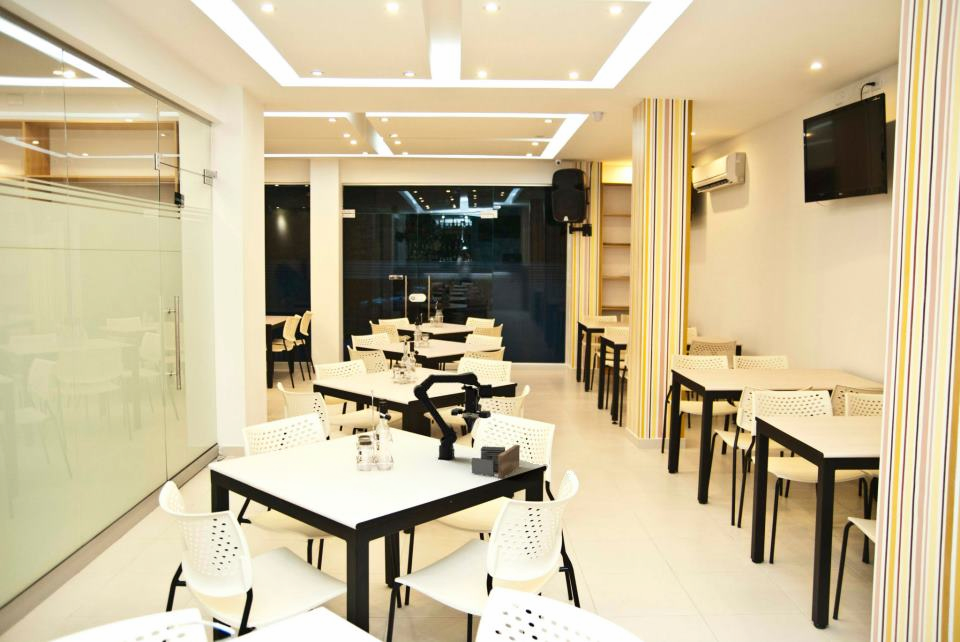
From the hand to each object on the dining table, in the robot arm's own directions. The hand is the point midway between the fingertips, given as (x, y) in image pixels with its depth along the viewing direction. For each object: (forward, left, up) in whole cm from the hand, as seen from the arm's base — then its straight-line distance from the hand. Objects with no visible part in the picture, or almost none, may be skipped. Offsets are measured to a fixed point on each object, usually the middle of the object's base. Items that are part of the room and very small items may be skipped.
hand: (470, 431), depth 333 cm
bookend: (+17, -25, -13) cm, 33 cm away
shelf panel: (+26, -17, -13) cm, 34 cm away
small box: (+19, -17, -13) cm, 29 cm away
